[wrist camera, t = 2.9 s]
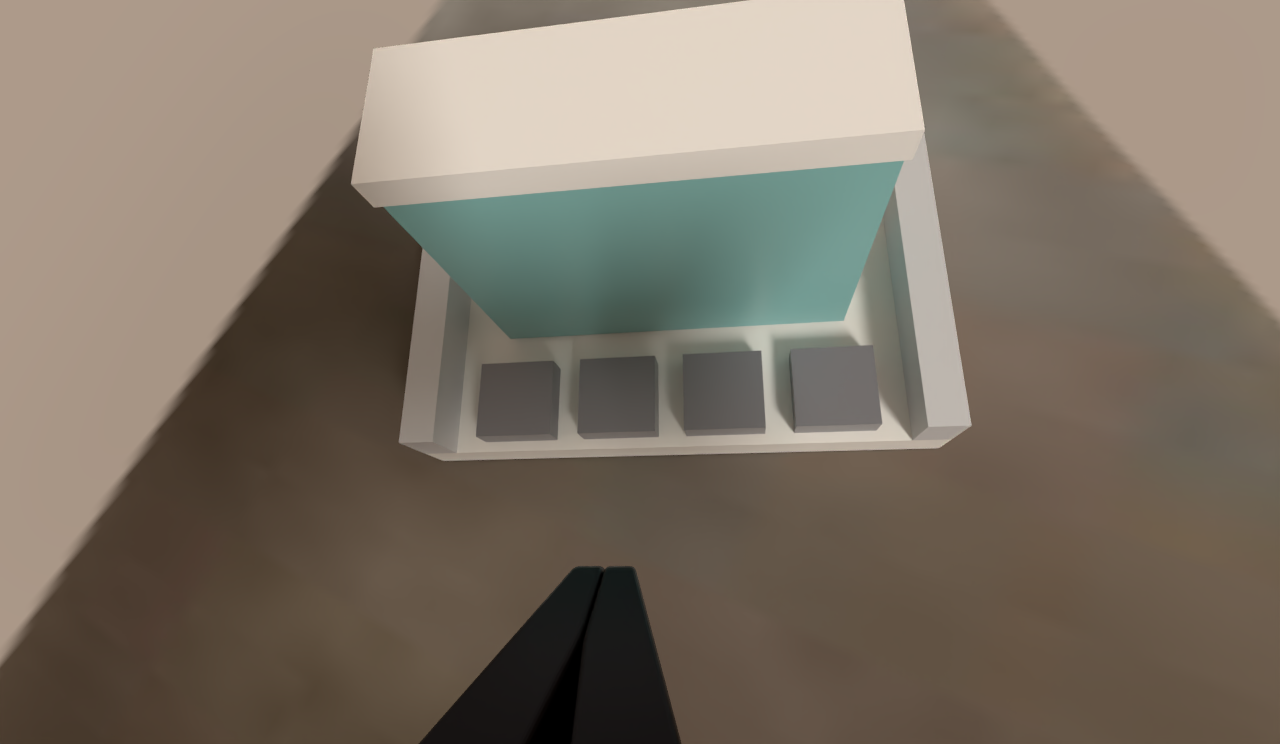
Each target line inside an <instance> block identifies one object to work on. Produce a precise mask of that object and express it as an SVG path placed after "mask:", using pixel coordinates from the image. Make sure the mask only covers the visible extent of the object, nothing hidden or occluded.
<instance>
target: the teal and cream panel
mask: <svg viewBox="0 0 1280 744" xmlns="http://www.w3.org/2000/svg"><path fill="white" fill-rule="evenodd" d="M924 130H925V128H924V122H923V115H922V109H921V103H920V97H919V91H918V85H917V78H916V72H915V66H914V60H913V54H912V48H911V41H910V35H909V29H908V23H907V17H906V11H905V4H904V0H749V1H741V2H734V3H726V4H718V5H710V6H702V7H694V8H687V9H679V10H671V11H663V12H655V13H648V14H640V15H632V16H624V17H616V18H608V19H601V20H593V21H585V22H577V23H569V24H562V25H554V26H546V27H538V28H530V29H522V30H515V31H507V32H499V33H491V34H483V35H476V36H468V37H460V38H452V39H444V40H436V41H429V42H421V43H413V44H405V45H397V46H390V47H382V48H374V49H373V54H372V60H371V67H370V73H369V79H368V84H367V90H366V96H365V102H364V108H363V114H362V120H361V126H360V132H359V138H358V144H357V150H356V156H355V162H354V168H353V174H352V180H351V185H352V186H353V187H354V188H355V189H356V190H357V191H358V192H359V193H360V194H361V195H362V196H363V197H364V198H365V199H366V200H367V201H368V202H369V203H370V204H371V205H372V206H373V207H374V208H375V207H384V208H385V209H386V210H387V211H388V212H389V213H390V214H391V215H392V217H393V218H394V219H395V220H396V221H397V222H398V223H399V224H400V225H401V226H402V227H403V228H404V229H405V230H406V231H407V232H408V233H409V234H410V235H411V236H412V237H413V238H414V239H415V240H416V241H417V242H418V244H419V245H420V246H421V247H422V248H423V249H424V250H425V251H426V252H427V253H428V254H429V255H430V256H431V257H432V258H433V259H434V260H435V261H436V262H437V263H438V264H439V265H440V266H441V267H442V268H443V269H444V271H445V272H446V273H447V274H448V275H449V276H450V277H451V278H452V279H453V280H454V281H455V282H456V283H457V284H458V285H459V286H460V287H461V288H462V289H463V290H464V291H465V292H466V293H467V294H468V295H469V297H470V298H471V299H472V300H473V301H474V302H475V303H476V304H477V305H478V306H479V307H480V308H481V309H482V310H483V311H484V312H485V313H486V314H487V315H488V316H489V317H490V318H491V319H492V320H493V321H494V322H495V324H496V325H497V326H498V327H499V328H500V329H501V330H502V331H503V332H504V333H505V334H506V335H507V336H508V337H509V338H510V339H517V338H536V337H554V336H573V335H591V334H609V333H628V332H646V331H664V330H683V329H701V328H720V327H738V326H756V325H775V324H793V323H811V322H830V321H844V318H845V316H846V313H847V310H848V308H849V305H850V303H851V300H852V297H853V295H854V292H855V289H856V287H857V284H858V281H859V279H860V276H861V273H862V271H863V268H864V266H865V263H866V260H867V258H868V255H869V252H870V250H871V247H872V244H873V242H874V239H875V236H876V234H877V231H878V229H879V226H880V223H881V221H882V218H883V215H884V213H885V210H886V207H887V205H888V202H889V199H890V197H891V194H892V192H893V189H894V186H895V184H896V181H897V178H898V176H899V173H900V170H901V168H902V165H903V162H904V161H906V160H913V158H914V156H915V153H916V151H917V148H918V145H919V143H920V140H921V138H922V135H923V133H924Z"/></svg>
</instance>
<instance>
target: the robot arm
mask: <svg viewBox="0 0 1280 744" xmlns="http://www.w3.org/2000/svg"><path fill="white" fill-rule="evenodd" d="M419 744H681V740H680V736H679V733H678V729H677V725H676V721H675V717H674V714H673V710H672V706H671V702H670V698H669V695H668V691H667V687H666V683H665V679H664V676H663V672H662V668H661V664H660V660H659V657H658V653H657V649H656V645H655V641H654V638H653V634H652V630H651V626H650V622H649V618H648V615H647V611H646V607H645V603H644V599H643V596H642V592H641V588H640V584H639V580H638V577H637V573H636V570H635V568H634V567H632V566H609V567H607V568H606V569H604V568H603V567H601V566H578V567H575V568H574V569H572V570H571V571H570V572H569V574H568V575H567V576H566V577H565V578H564V579H563V580H562V582H561V583H560V584H559V585H558V586H557V587H556V588H555V590H554V591H553V592H552V593H551V594H550V595H549V596H548V598H547V599H546V600H545V601H544V602H543V603H542V604H541V605H540V607H539V608H538V609H537V610H536V611H535V612H534V613H533V615H532V616H531V617H530V618H529V619H528V620H527V621H526V623H525V624H524V625H523V626H522V627H521V628H520V629H519V630H518V632H517V633H516V634H515V635H514V636H513V637H512V638H511V640H510V641H509V642H508V643H507V644H506V645H505V646H504V648H503V649H502V650H501V651H500V652H499V653H498V654H497V655H496V657H495V658H494V659H493V660H492V661H491V662H490V663H489V665H488V666H487V667H486V668H485V669H484V670H483V671H482V673H481V674H480V675H479V676H478V677H477V678H476V679H475V680H474V682H473V683H472V684H471V685H470V686H469V687H468V688H467V690H466V691H465V692H464V693H463V694H462V695H461V696H460V698H459V699H458V700H457V701H456V702H455V703H454V704H453V705H452V707H451V708H450V709H449V710H448V711H447V712H446V713H445V715H444V716H443V717H442V718H441V719H440V720H439V721H438V723H437V724H436V725H435V726H434V727H433V728H432V729H431V731H430V732H429V733H428V734H427V735H426V736H425V737H424V738H423V740H422V741H421V742H420V743H419Z"/></svg>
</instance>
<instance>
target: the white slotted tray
mask: <svg viewBox="0 0 1280 744" xmlns="http://www.w3.org/2000/svg"><path fill="white" fill-rule="evenodd" d="M970 426H971V420H970V413H969V407H968V401H967V395H966V389H965V382H964V376H963V370H962V364H961V358H960V351H959V345H958V339H957V333H956V327H955V320H954V314H953V308H952V302H951V296H950V290H949V283H948V277H947V271H946V265H945V259H944V252H943V246H942V240H941V234H940V228H939V221H938V215H937V209H936V203H935V197H934V190H933V184H932V178H931V172H930V166H929V159H928V153H927V147H926V141H925V135H924V133H923V135H922V138H921V140H920V143H919V145H918V148H917V151H916V153H915V156H914V158H913V160H906V161H904V162H903V165H902V168H901V170H900V173H899V176H898V178H897V181H896V184H895V186H894V189H893V192H892V194H891V197H890V199H889V202H888V205H887V207H886V210H885V213H884V215H883V218H882V221H881V223H880V226H879V229H878V231H877V234H876V236H875V239H874V242H873V244H872V247H871V250H870V252H869V255H868V258H867V260H866V263H865V266H864V268H863V271H862V273H861V276H860V279H859V281H858V284H857V287H856V289H855V292H854V295H853V297H852V300H851V303H850V305H849V308H848V310H847V313H846V316H845V318H844V321H830V322H811V323H793V324H775V325H756V326H738V327H720V328H701V329H683V330H664V331H646V332H628V333H609V334H591V335H573V336H554V337H536V338H517V339H510V338H509V337H508V336H507V335H506V334H505V333H504V332H503V331H502V330H501V329H500V328H499V327H498V326H497V325H496V324H495V322H494V321H493V320H492V319H491V318H490V317H489V316H488V315H487V314H486V313H485V312H484V311H483V310H482V309H481V308H480V307H479V306H478V305H477V304H476V303H475V302H474V301H473V300H472V299H471V298H470V297H469V295H468V294H467V293H466V292H465V291H464V290H463V289H462V288H461V287H460V286H459V285H458V284H457V283H456V282H455V281H454V280H453V279H452V278H451V277H450V276H449V275H448V274H447V273H446V272H445V271H444V269H443V268H442V267H441V266H440V265H439V264H438V263H437V262H436V261H435V260H434V259H433V258H432V257H431V256H430V255H429V254H428V253H427V252H426V251H425V250H424V249H422V257H421V265H420V273H419V281H418V290H417V298H416V306H415V314H414V322H413V331H412V339H411V347H410V355H409V363H408V371H407V380H406V388H405V396H404V404H403V412H402V421H401V429H400V437H399V443H400V444H402V445H405V446H407V447H410V448H412V449H415V450H417V451H420V452H422V453H425V454H427V455H430V456H432V457H435V458H437V459H440V460H442V461H458V460H497V459H535V458H574V457H613V456H652V455H691V454H730V453H768V452H807V451H846V450H885V449H924V448H940V447H941V446H943V445H944V444H946V443H947V442H948V441H950V440H951V439H953V438H954V437H956V436H957V435H959V434H960V433H961V432H963V431H964V430H966V429H967V428H969V427H970Z"/></svg>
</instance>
